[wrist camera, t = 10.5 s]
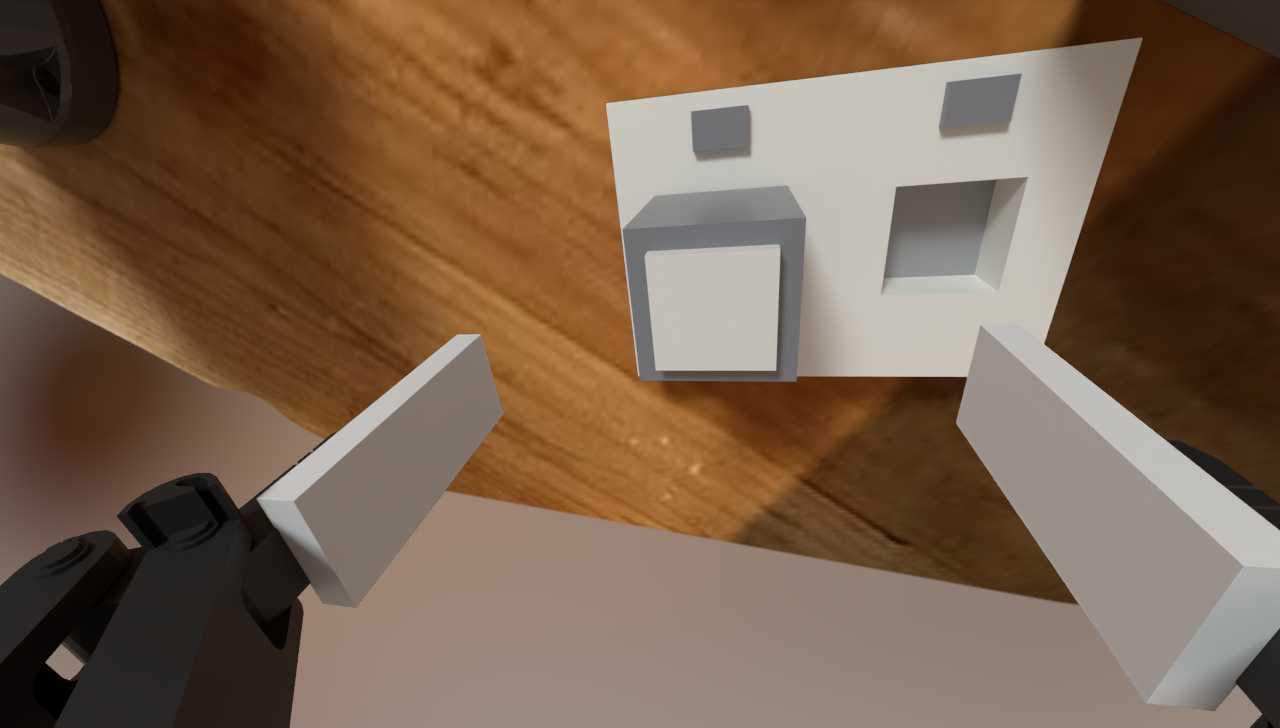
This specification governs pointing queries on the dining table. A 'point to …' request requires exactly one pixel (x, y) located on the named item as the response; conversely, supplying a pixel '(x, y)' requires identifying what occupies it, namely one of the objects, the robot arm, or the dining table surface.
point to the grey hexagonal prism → (1239, 19)
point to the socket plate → (901, 191)
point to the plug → (717, 285)
